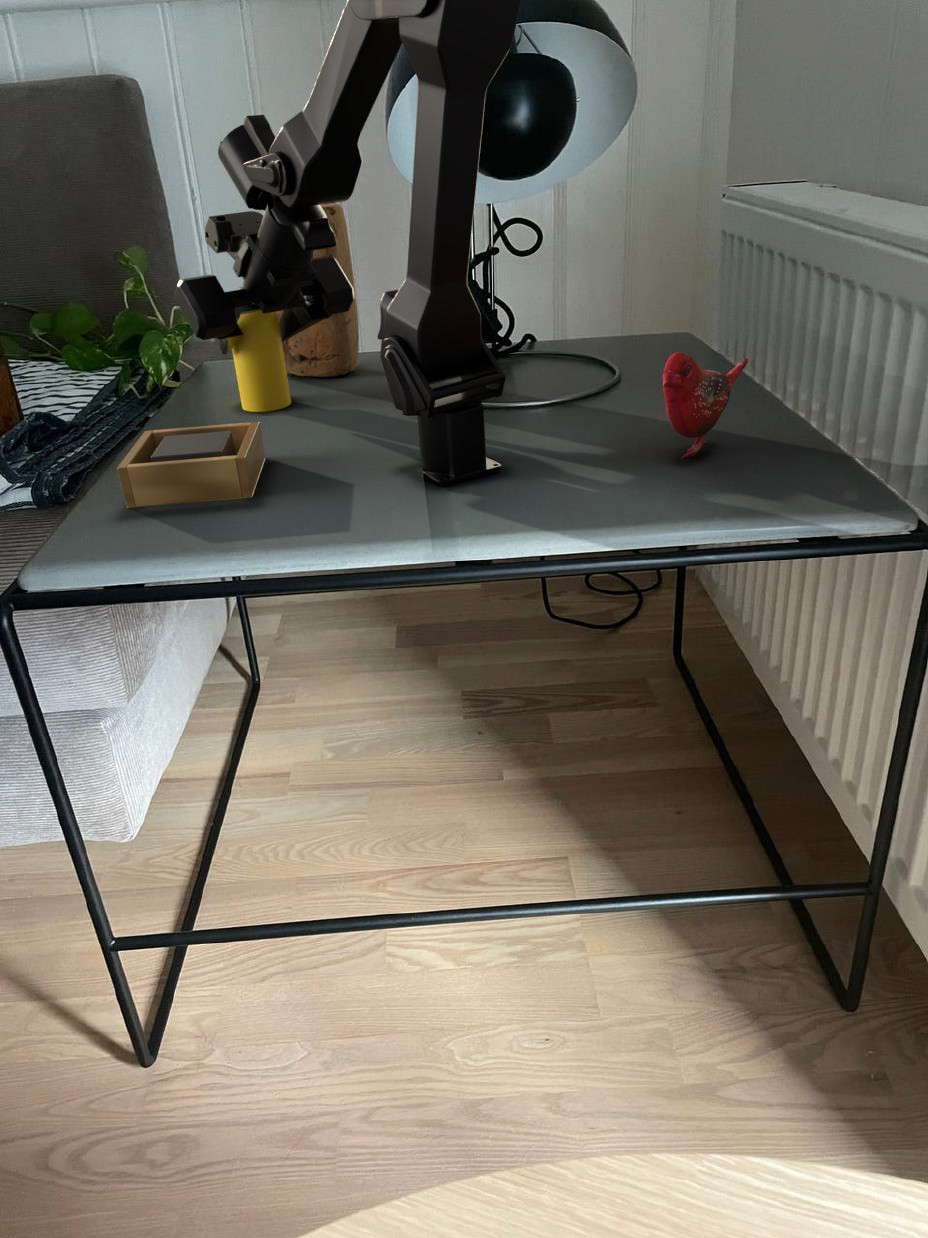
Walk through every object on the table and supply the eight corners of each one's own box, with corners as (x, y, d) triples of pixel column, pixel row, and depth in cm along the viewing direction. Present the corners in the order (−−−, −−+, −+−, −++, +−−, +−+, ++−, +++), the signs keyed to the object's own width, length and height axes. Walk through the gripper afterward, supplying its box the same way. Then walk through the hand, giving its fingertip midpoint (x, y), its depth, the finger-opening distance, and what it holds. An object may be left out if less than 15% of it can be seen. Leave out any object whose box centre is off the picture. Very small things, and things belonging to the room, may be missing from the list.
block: (368, 365, 124) (350, 199, 114) (349, 380, 117) (328, 205, 108) (291, 365, 126) (267, 203, 117) (268, 380, 120) (241, 209, 110)
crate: (266, 465, 90) (259, 421, 88) (253, 505, 81) (244, 457, 79) (155, 474, 90) (144, 430, 87) (128, 516, 80) (116, 467, 78)
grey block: (238, 467, 87) (231, 430, 86) (228, 489, 82) (221, 451, 80) (172, 472, 87) (164, 435, 86) (159, 495, 82) (150, 456, 80)
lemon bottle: (298, 405, 108) (281, 286, 102) (252, 415, 106) (231, 293, 100) (280, 395, 113) (262, 280, 106) (235, 405, 110) (214, 287, 104)
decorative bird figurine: (644, 474, 81) (647, 357, 77) (728, 419, 93) (736, 315, 89) (675, 479, 80) (680, 360, 75) (757, 423, 92) (766, 317, 87)
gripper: (326, 175, 100) (290, 276, 113) (161, 192, 90) (141, 301, 103) (376, 258, 99) (333, 351, 111) (213, 285, 89) (187, 384, 101)
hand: (251, 344), depth 107 cm, fingers open, 7 cm apart
